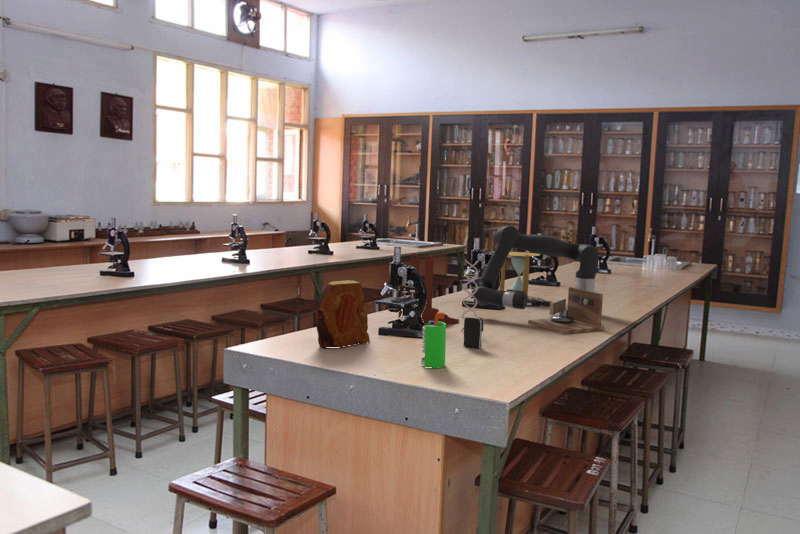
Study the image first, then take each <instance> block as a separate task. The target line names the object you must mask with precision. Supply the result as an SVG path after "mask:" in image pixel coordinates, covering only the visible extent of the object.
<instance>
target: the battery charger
mask: <svg viewBox="0 0 800 534" xmlns="http://www.w3.org/2000/svg"><path fill="white" fill-rule="evenodd" d="M465 317H466V316H465ZM463 320H464V319H463ZM463 327H464V329H463V347H467V346H468V348H472V347H474V348H473V349H481V348H482V333H483V332H484V320H483V318H482V317H479V316H477V317H475V316H472V315H471V316H467V317H466V318H465V320H464V321H463ZM480 347H481V348H480Z"/></svg>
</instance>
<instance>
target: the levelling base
mask: <svg viewBox="0 0 800 534" xmlns="http://www.w3.org/2000/svg"><path fill="white" fill-rule="evenodd" d="M567 295H568V296H567V297H568V298H567V310H568V316H571V317H574V322H572V323H559V322H554V321H551V317H549V318H537V319H528V320H527V324H529V325H532V326H535V325H536V326H535V327H539V328H542V327H543V329H545V328H546V329H545V330H549V329H550V331H552V330H554V331H553V332H556V331H558V332H557V333H559V332H561V333H560V334H562V333H564V334H563V335H566V334H565V333H570V334H578V333H577V332H581V333H590V332H589V331H591V332H600V330H602V331H605V326H604V325H603V326H602V315H603V302H604V301H603V298H604V294H603V293H601V292H595V291H594V292H592V291H587V290H582V289H577V288H575V287H568V293H567Z"/></svg>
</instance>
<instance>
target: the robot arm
mask: <svg viewBox="0 0 800 534" xmlns="http://www.w3.org/2000/svg"><path fill="white" fill-rule="evenodd" d="M493 239H494V242H495V243H496V244H497V246H496V249H495V251H494V253H493V255H492V256H491V258H490V259H489V260H488V262H487V264H486V266H485V267H484V270H483V272H482V274H481V277H480V283H481V285H480V286H478V290H477V291H476V290H471V294H472V293H474V292H475V291H476V293H475V294H473V296H474V297H475V298H476V299H477V305H479V306H481V307H485V306H487V305H489V304H492V305H494V306H497V307H505V308H508V309H517V310H525V309H526V308H527V307H528V308H537V307H538V308H540V307H541V308H542V307H548V308H550V303H551V302H552V301H551V300H545V299H544V298H540V297H536V298H534V297H535V296H531V297H530V298H528V297H527V294H526V293H523V292H514V291H507V290H504V291H500V290H498V289H497V290H496V289H495V285H496V282H497V280H498V277H500V271H501V268H502V266H503V264H504V262H505V263H506V260H507V258H508V256H509V255H508V254H509V253H510V252H512V250H513V249H519V250H524V251H525V252H529V253H535V254H540V255H541V256H542V255H543V256H547V257H555V258H556V257H557V258H560V257H562V258H566V259H570V260H573V261H575V262H577V263H579V269H578V270H577V271H576V272H575V280H574V281H575V284H574V288H577V289H582V290H587V291H592V292H595V289H596V287H595V286H596V275H597V272H598V269H599V253H600V252H599V251H598V248H596V246H593V245H591V244H586V243H584V244H583V243H573V242H567V241H564V240H562V239H559V238H558V237H555V236H549V235H546V234H522V233H519V231H518V229H517V227H515V226H513V225H505V226H503V227H500V228H499V229H497V230H496V231H495V233H494V235H493ZM473 289H476V287H474V288H473ZM474 297H472V299H473V300H474V301H475V302H476V300H475V299H474Z"/></svg>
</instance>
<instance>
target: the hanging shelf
mask: <svg viewBox="0 0 800 534" xmlns="http://www.w3.org/2000/svg"><path fill="white" fill-rule="evenodd" d="M410 258H411V259H410V267H411V266H413V267H415V268H416V270H417V271H418V273H419V274H420V256H419V254H418V253H412V254H411V256H410ZM433 277H434V257H433V256H432V255H431V254H428V255H426V256H425V258H424V283H423V285H424V284H425V286H426V289H427V304H426V308H425V310H424V312H423V314H422V319H423V321H424V323H423V324H425V323H428V324H427V325H429V321H434V320H435V316H436V314H437V313H438V312H440V310H439V308H435V307H433V280H434V279H433ZM401 314H402V311H400V312H399V311H398V318H399V317H400V316H401ZM438 322H444V323H446V326H449V325H448V324H450V325H454V324H453V323H455V324H458V323H457V322H459V323H460V319H459V318H454V317H449V315H448V314H446V313H444V319H441V318H439V319H438Z"/></svg>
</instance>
